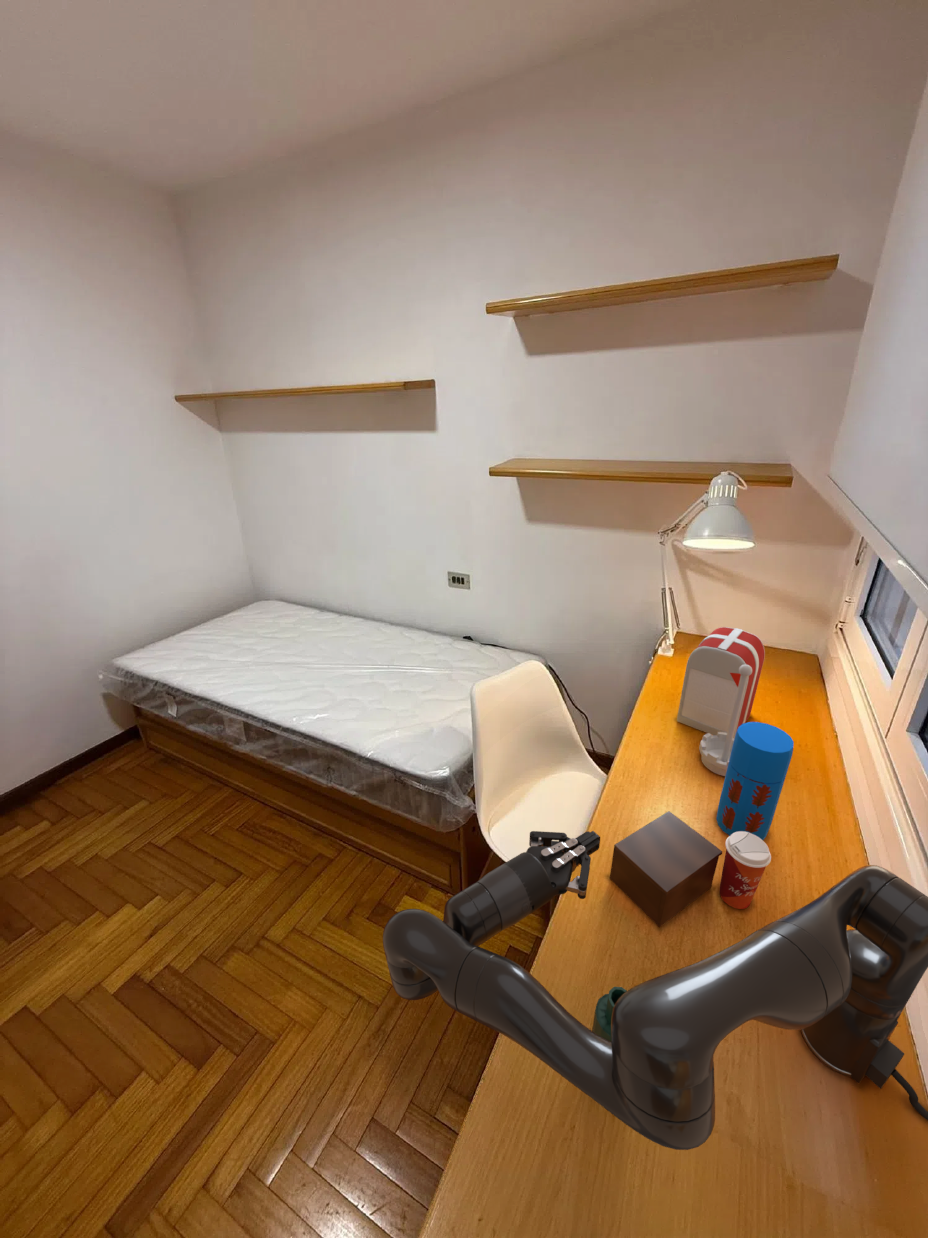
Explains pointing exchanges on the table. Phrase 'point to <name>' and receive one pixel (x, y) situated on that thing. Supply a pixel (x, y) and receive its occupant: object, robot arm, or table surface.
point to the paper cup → (743, 868)
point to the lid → (667, 851)
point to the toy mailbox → (720, 680)
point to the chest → (651, 896)
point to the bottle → (606, 1012)
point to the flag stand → (720, 745)
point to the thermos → (754, 779)
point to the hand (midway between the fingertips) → (596, 838)
